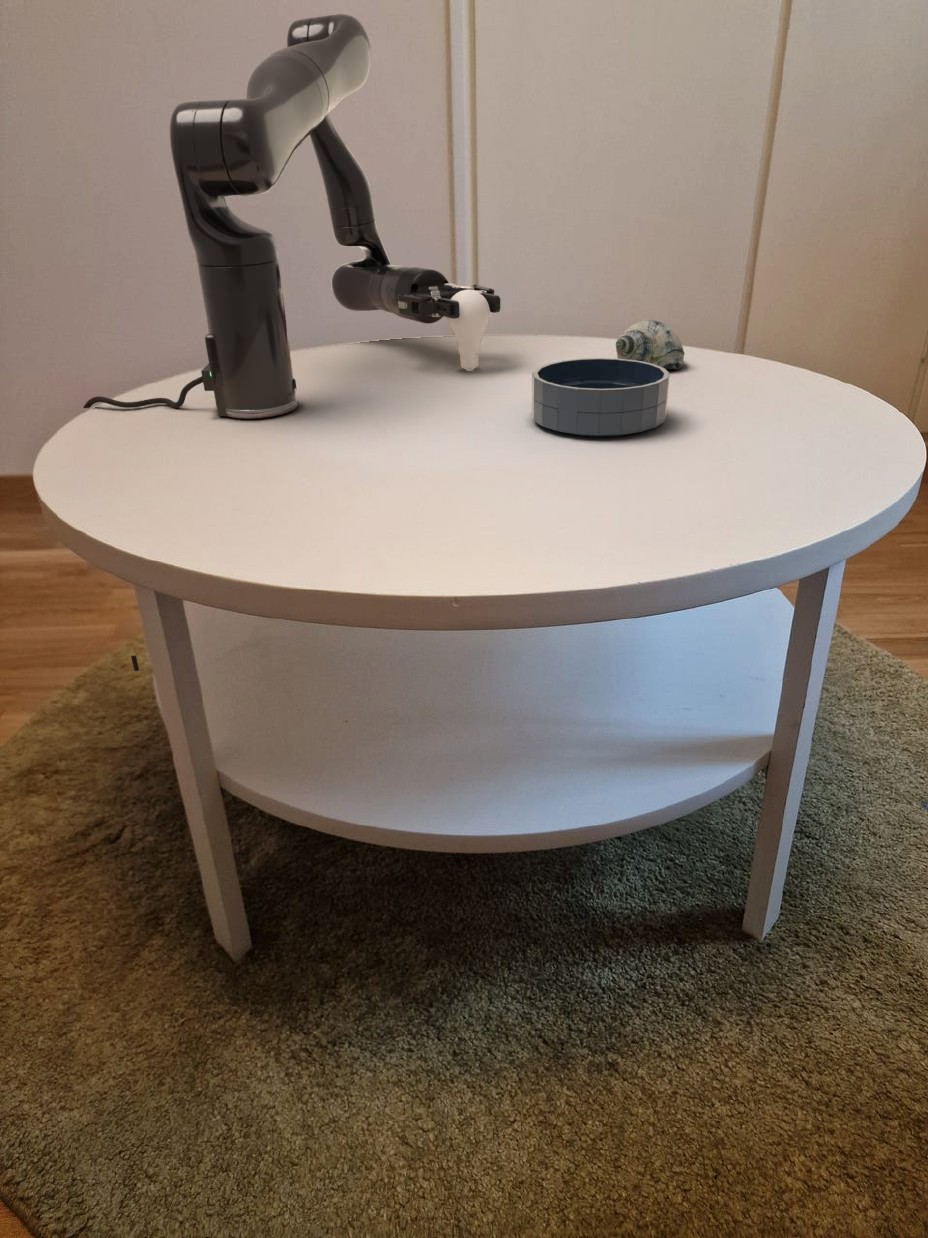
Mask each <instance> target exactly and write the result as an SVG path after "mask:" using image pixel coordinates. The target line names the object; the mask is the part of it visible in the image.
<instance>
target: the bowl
mask: <svg viewBox="0 0 928 1238" xmlns="http://www.w3.org/2000/svg"><path fill="white" fill-rule="evenodd" d="M670 376H671V373H670V372H669V371H668V370H667V368H662V367H660V366H657V365H655V364H651V363H647V362H642V361H636V360H627V359H618V358H612V357H610V358H609V357H589V358H574V359H565V360H564V359H563V360H559V361H554V362H549V363H545V364H543V365H541V366H537V367H536V368H535V369H534V370H533V371H532V373H531V417H532V420H533V422H535V423H536V424H538V425H540V426H541V427H543V428H546V429H550V430H553V431H556V432H559V433H563V434H568V435H572V436H581V437H591V438H595V437H596V438H607V437H608V438H609V437H621V436H628V435H632V434H633V435H634V434H637V433H641V432H645V431H649V430H652V429H655V428H657V427H658V426H660V425H662V424H664V423H665V421H666V417H667V410H668V409H667V408H668V398H669V389H670Z"/></svg>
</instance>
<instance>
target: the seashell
mask: <svg viewBox="0 0 928 1238" xmlns="http://www.w3.org/2000/svg"><path fill="white" fill-rule="evenodd" d="M615 350H616V355H617V356H616V358H617V359H627V360H636V361H642V362H647V363H651V364H655V365H657V366H660V367H662V368H665V369H670V370H671V369H672V370H675V371H678V370H681V369H682V368H683V366H684V359H685V357H684V356H685V354H686V353H685V351H684V347H683V344H682V340H681V339H680V337H679V336H678V334H677V332H676V331H675V330H674V329H673V328H671V327H670V326H669V325H668V324H666V323H663V322H661V321H658V320H652V319H651V320H650V319H648V320H642V321H638V322H636V323H634V324H632V325H631V326H629V327H628V328H627V329H625V331H624V332H623V333H622V334H621V335H620V336H619V338H618V339H617V340H616V342H615Z"/></svg>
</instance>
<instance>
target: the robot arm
mask: <svg viewBox="0 0 928 1238" xmlns="http://www.w3.org/2000/svg"><path fill="white" fill-rule="evenodd" d="M371 64H372V49H371V43H370V39H369V37H368V33H367V32H366V30H365V28H364V26H363V24H361V22H360V21H359V20H358V19H357V18H356V17H355V16H353V15H350V14H346V13H337V14H331V15H330V14H329V15H321V16H316V17H315V16H314V17H308V18H301V19H296V20H294V21H293V22H291V24H290V26H289V28H288V30H287V35H286V47H284V48H281V49H279V50H277V51H275V52H273V53H272V54H271V55H269V56H268V57H267V58H265V59H264V60H263V61H261V62H260V63H259V64H258V65H257V66H256V67H255V68H254V70H253V72H252V73H251V75H250V77H249V80H248V82H247V87H246V98H241V99H218V100H217V99H216V100H215V99H214V100H196V101H186V102H181V103H179V104H177V105H176V107H174V109H173V111H172V113H171V117H170V122H169V144H170V152H171V158H172V163H173V168H174V172H175V176H176V177H175V178H176V181H177V185H178V190H179V194H180V199H181V203H182V208H183V214H184V219H185V223H186V229H187V232H188V236H189V239H190V241H191V245H192V247H193V249H194V253H195V258H196V263H197V269H198V270H197V271H198V276H199V281H200V287H201V292H202V299H203V305H204V311H205V312H204V313H205V317H206V323H207V329H208V333H207V334H206V335H205V336H204V342H205V348H206V354H207V359H208V360H207V361H208V364H207V365H205V366H204V367H203V368H202V369H201V370H200V372H201V376H199V377H197V378H195V379H193V380H191V381H189V382H188V383H187V384H185V385H184V386H183V388H182V389H181V391H180V394H179V396H178V400H177V401H174V400H172V399H170V398H166V397H155V398H148V399H143V400H138V401H120V400H115V399H112V398H110V397H105V396H93V397H91V398H89V399H88V400H87V401H86V402H85V403H84V405H83V407H82V408H83V409H89V408H91V407H92V406H93V405H95V404H96V403H104V404H108V405H111V406H113V407H119V408H125V409H126V408H127V409H133V408H139V407H147V406H150V405H151V406H152V405H158V404H166V405H167V406H169V407H171V408H173V409H179V408H181V407H182V406H183V405H184V403H185V400H186V397H187V395H188V393H189V392H190V391H191V390H192V389H193V388H194V387H196V386H199V385H201V384H203V390H204V392H213V395H214V400H215V407H216V413H217V417H229V418H233V419H246V420H247V419H264V418H271V417H276V416H281V415H284V414H287V413H290V412H292V411H295V409H297V408H298V400H297V399H298V398H297V395H296V391H297V381H296V379H295V378H294V373H293V363H292V357H291V356H292V355H291V348H290V341H289V333H288V325H287V317H286V316H287V315H286V309H285V301H284V293H283V284H282V277H281V276H282V275H281V269H280V260H279V251H278V244H277V240H276V238H275V236H274V235H273V234H272V233H271V232H269V231H267V230H265V229H264V228H263V229H262V228H260V227H257V226H255V225H252V224H250V223H248V222H246V221H244V220H243V219H241V218H240V217H239V216H237V215H236V214H235V213H234V212H233V211H232V210H231V208H230V206H229V204H228V201H227V197H229V198H230V197H253V196H259V195H262V194H266V193H268V192H269V191H270V190H272V189H273V188H274V187H275V185H276V184H277V183H278V182H279V180H280V178H281V177H282V175H283V173H284V171H285V170H286V168H287V166H288V164H289V162H290V160H291V159H292V157H293V155H294V154H295V152H296V151H297V150H298V148H299V147H300V146H301V145H302V143H303V142H304V140H305V139H306V138H307V137H308V136H309V137H310V141H311V143H312V147H313V150H314V154H315V156H316V159H317V163H318V167H319V170H320V174H321V176H322V181H323V187H324V190H325V194H326V200H327V207H328V210H329V216H330V223H331V228H332V235H333V238H334V240H335V242H336V244H337V245H339V246H340V247H346V248H359V249H360V250H361V252H362V254H363V258H362V259H358V260H353V261H349V262H346V263H343V264H341V265H339V266H338V267H336V268H335V270H334V272H333V273H332V276H331V280H330V286H331V287H330V288H331V292H332V294H333V296H334V298H335V300H336V301H337V302H338V303H339V305H341V306H343V307H344V308H345V309H347V310H349V311H355V312H369V311H371V312H372V311H383V312H385V313H390V314H394V315H396V316H398V317H400V318H403V319H406V320H410V321H414V322H418V323H422V324H426V325H427V324H428V325H430V324H434V323H436V322H439V321H440V320H441V319H443V318H447V317H448V318H453V319H455V318H459V316H460V313H459V302H458V301H455V300H450V299H451V298H452V297H453V296H454V295H455V294H456V293H458V292H460V291H463V290H474V291H476V292H478V293H480V294H481V295H483V296H484V298H485V299H486V300H487V302H488V304H489V308H490V313H493V314H495V313H500V311H501V297H500V295H497V294H495V289H494V288H489V287H486V286H483V285H478V284H472V285H471V286H469V285H468V286H467V285H457V284H456V283H450V282H449V280H448V279H447V277H446V276H445V275H444V274H443V273H442V272H440V271H438V270H435V269H431V268H424V267H419V266H414V265H413V266H412V265H396V264H392V262H391V261H390V258H389V256H388V254H387V250H386V249H385V245H384V243H383V241H382V238H381V235H380V233H379V230H378V225H377V220H376V212H375V207H374V201H373V200H374V199H373V194H372V190H371V186H370V183H369V179H368V177H367V174H366V173H365V171H364V169H363V167H362V166H361V164H360V163H359V161H358V160H357V158H356V157H355V156H354V154H353V153H352V151H351V150H350V148H349V147H348V146H347V145H346V143H345V142H344V140H343V139H342V138H341V136H340V134H339V133H338V131H337V129H336V128H335V126H334V124H333V122H332V119H331V117H330V115H329V114H330V113H331V112H332V111H333V110H334V109H335V107H336V106H337V105H338V104H340V102H342V100H343V99H345V98H346V97H348V96H349V95H351V94H353V93H355V92H357V91H359V90H360V89H362V88H363V86H364V85H365V84H366V82H367V79H368V77H369V75H370V71H371ZM130 658H131V662H132V667H133V671H134V672H138V671H140V668H139V663H138V659H137V655H131V656H130Z"/></svg>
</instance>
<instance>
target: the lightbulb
mask: <svg viewBox="0 0 928 1238" xmlns="http://www.w3.org/2000/svg"><path fill="white" fill-rule="evenodd" d="M450 300H455V301H458V302H459V313H460V316H459V318H455V319H453V318H448V317H446V320H447V323H448V325H449V328H450V329H451V331H452V333H453V335H454V337H455V339H456V344H457V352H458V353H459V357H460V358H459V361H460V367H461V368H462V369H464V370H465V371H467V372H473V371H474V369H477V368H478V367H479V356H480V355H479V353H480V352H481V343H482V338H483V335H484V332H485V331H486V328H487V326H488V324H489V321H490V318H491V312H490V308H489V304H488V302H487V300H486V299H485V298H484V296H483V295H481V294H480V293H478V292H476V291H474V290H463V291H460V292H458V293H456V294H455V295H454V296H453V297H452V298H451V299H450Z"/></svg>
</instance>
